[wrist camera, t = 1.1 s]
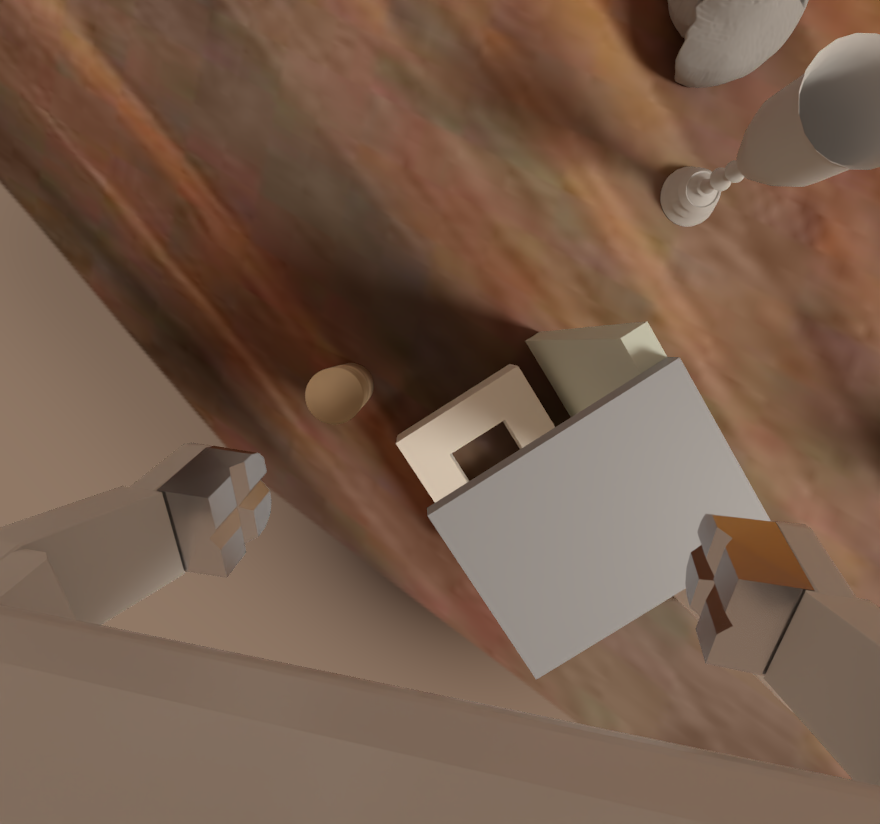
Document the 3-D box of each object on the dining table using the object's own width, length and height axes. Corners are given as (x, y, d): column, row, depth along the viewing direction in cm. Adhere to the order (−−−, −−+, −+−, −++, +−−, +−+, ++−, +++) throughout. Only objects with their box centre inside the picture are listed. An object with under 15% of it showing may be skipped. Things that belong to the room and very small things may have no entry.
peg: (320, 378, 46) (294, 387, 36) (357, 354, 46) (341, 356, 36) (345, 416, 47) (326, 435, 37) (382, 392, 47) (373, 404, 37)
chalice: (634, 214, 46) (774, 131, 28) (670, 140, 45) (837, 7, 27) (706, 251, 46) (887, 193, 29) (742, 179, 46) (951, 73, 28)
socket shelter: (391, 425, 47) (367, 503, 24) (539, 331, 47) (658, 320, 24) (472, 549, 49) (522, 730, 26) (615, 460, 49) (795, 565, 26)
